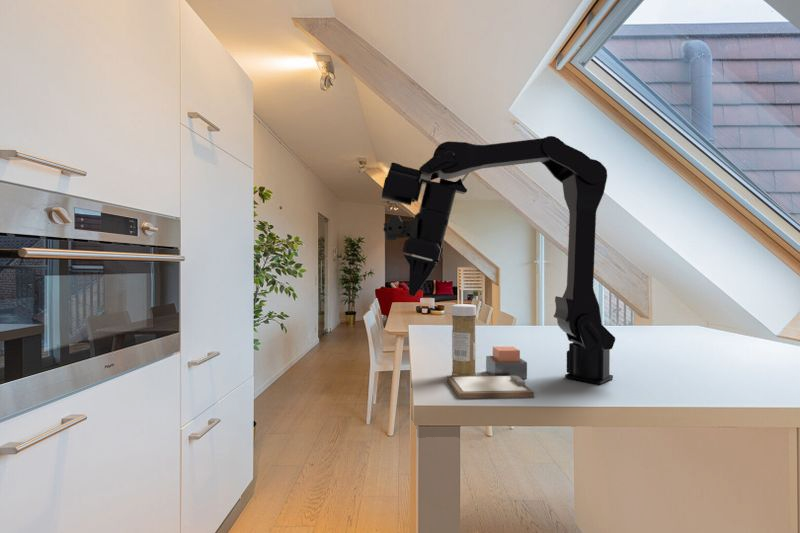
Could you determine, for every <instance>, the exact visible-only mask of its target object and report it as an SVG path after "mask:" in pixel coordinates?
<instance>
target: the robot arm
mask: <svg viewBox="0 0 800 533" xmlns="http://www.w3.org/2000/svg"><path fill="white" fill-rule="evenodd" d="M532 163H541V164H542V165H544V166H545V168H546V169H547V170H548V171H549V173H550V174H551V175H552V176H553V177H554V178H555V179H556V180H558V181H559V183H560V184H562V192H563V198H564V201H565V203H566V207H567V209H568V213H569V221H568V222H569V223H568V246H567V250H568V252H567V272H566V273H567V275H566V277H567V278H566V288H565V291H564V293H563V295H562V297H561V296H555V297H554V303H555V304H554V305H555V312H554V315H553V318H555V319H556V320H557V321H556V323H557V325H558V328H560V329H561V331H563V332H564V333H565V335H566V337H567V339H568V340H567V341H569V342H571V343H568V350H566V373H567V374H566V373H565V374H564V378H566V379H572V380H576V381H581V382H587V383H591V384H595V385H596V384H597V385H602V384H603V383H605V382H607V381H609V380H610V381H611V380H612V379H613V378H614V375H612V374H610V368H611V367H610V363H611V362H610V361H611V360H610V356H611V355H610V354H611V353H610V350H612V349H613V347H614V344H615V342H616V337H615V336H614V335H613V334H612V333H611V332H610V331H609V330H608V329H607V328H606V327H605V326H604V324H603V323H602V316H601V310H600V304H599V302H598V298H597V295H596V293H595V289H594V278H595V277H594V276H595V275H594V274H595V256H596V255H595V254H596V253H595V250H596V230H597V229H596V225H597V211H598V208H599V205H600V203H601V200H602V198H603V196H604V193H605V189H606V184H607V180H608V170H607V168H606V166H605V165H604V164H603V163H601V162H600V161H599V160H597V159H594V158H593V159H592V158H591V157H589V156H588V155H587V154H586V153H584V152H582V151H580V150H578V149H576V148H574V147H572V146H570V145H568V144H566V143H565V142H564V141H562V140H561V139H560V138H558V137H556V136H553V135H549V136H546V137H542V138H532V139H526V140H525V139H524V140H516V141H515V140H514V141H509V142H507V141H506V142H498V143H491V144H475V143H471V142H467V141H466V142H464V141H450V140H449V141H444V142H442V143H440V144H439V145H438V146H437V147H436V149H434V153H433V155H432V157H431V158H429V160H427V161H426V162H425V163H424V164H422V165H421V166H420V167H418V168H419V169H416V168H412V167H408V166H404V165H402V164H399V163H397V162H391V163H390V167H389V169H388V172H387V176H386V177H385V179H384V183H383V187H382V191H381V192H382V193H381V199H382V200H386V201H391V202H394V203H398V204H402V205H407V206H409V207H410V206H412V203H415V202H418V201H419V198H420V195H421V190H422V186H423V185H425V186H424V187H425V188H424V190H423V195H422V197H421V198H422V199H421V203H420V207H419V209H418V210H419V212H417V213H415V214H414V219H412V220H402V219H401V216H399V215H393V216H390V217H389V219H388V221H387V222H384V223H383V228H382V229H383V232H384V237H385V238H384V240H385V241H395V240H397V239H406V240H404V244H403V248H402V252H403V254H402V256H403V257H404V258H405V260H406V261H407V263H408V265H409V275H408V276H409V281H408V295H409V296H411V297H415V296H416V295H417V293H419V291H420V290H421V289H422V287H423V286H424V284H425V283H426V282H427V280H428V279H429V277H430V276H431V274H432V273H433V271H434V270H435V268H436V267H437V265H438V264H439V263H440V261H441V259H442V257H443V256H442V255H443V253H444V247H443V244H444V239H445V235H446V231H447V228H448V227H449V226H448V225H449V220H450V216H451V213H452V207H453V205H454V200H455V196H456V194H461V195H465V194H466V193H467V192H468V188H467V187H466V186H465V184H464V183H463V179H462V178H459V179H458V180H457V181H453V180H452V179H454V178H458V177H461V176H464V175H465V176H466V175H468V174H471V173H473V172H475V171H478V170H482V169H488V168H490V169H491V168H498V167H507V166H516V165H522V164H532ZM436 179H439V181H438V182H437V181H433V180H436ZM450 179H451V180H450ZM418 203H419V202H418Z"/></svg>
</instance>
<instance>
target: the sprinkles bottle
mask: <svg viewBox="0 0 800 533" xmlns="http://www.w3.org/2000/svg"><path fill="white" fill-rule="evenodd" d="M476 316H477V306H476V305H475V304H469V303H460V304H459V303H458V304H452V305H451V317H452V330H451V343H452V344H451V359H452V368H451V369H452V370H451V376H477V373H476V359H477V357H476V355H477V354H476V352H477V350H476Z"/></svg>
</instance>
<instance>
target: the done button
mask: <svg viewBox="0 0 800 533" xmlns="http://www.w3.org/2000/svg"><path fill="white" fill-rule="evenodd" d="M492 356H493V359H494V360H495V361H497V362H520V358H521V351H520V349H519V348H516V347H515V346H512V345H511V346H492Z"/></svg>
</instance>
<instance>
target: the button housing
mask: <svg viewBox="0 0 800 533" xmlns="http://www.w3.org/2000/svg"><path fill="white" fill-rule="evenodd" d="M485 357H486V358H485V359H486V360H485V365H486V366H485V372H486V373H487V374H488V375H489V376H510V375H512V376H518V377H520V378H521V379H522V380H524V379H525V380H526V379H527V378H528V362H527V361H526V360H524V359H522V358H521V357H520V362H497V361H495V360H494V359H493V355H486V356H485Z"/></svg>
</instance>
